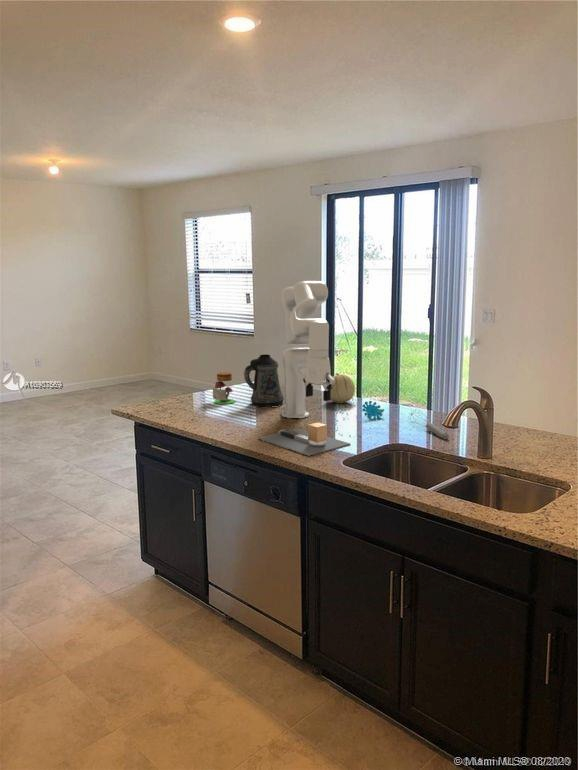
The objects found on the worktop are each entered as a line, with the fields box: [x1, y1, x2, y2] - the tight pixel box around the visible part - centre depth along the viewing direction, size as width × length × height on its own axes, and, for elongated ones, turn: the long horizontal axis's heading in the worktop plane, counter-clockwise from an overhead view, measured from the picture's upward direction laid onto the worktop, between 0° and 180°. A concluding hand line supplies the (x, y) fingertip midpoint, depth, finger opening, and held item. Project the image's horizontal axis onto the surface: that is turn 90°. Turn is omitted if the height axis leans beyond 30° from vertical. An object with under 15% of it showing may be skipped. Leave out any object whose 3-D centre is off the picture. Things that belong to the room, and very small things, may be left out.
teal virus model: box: [361, 400, 385, 421], centre depth 273 cm, size 11×6×10 cm
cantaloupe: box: [326, 373, 356, 404], centre depth 302 cm, size 15×15×15 cm
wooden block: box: [307, 422, 328, 443], centre depth 228 cm, size 5×5×6 cm
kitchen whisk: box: [407, 409, 450, 440], centre depth 251 cm, size 6×34×6 cm, turn 14°
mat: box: [257, 428, 351, 457], centre depth 235 cm, size 30×22×1 cm
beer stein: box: [243, 354, 285, 408], centre depth 297 cm, size 16×19×25 cm
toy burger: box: [211, 371, 236, 405], centre depth 305 cm, size 12×13×15 cm
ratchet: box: [278, 429, 326, 447], centre depth 235 cm, size 24×6×6 cm, turn 41°
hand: (318, 398), depth 227 cm, fingers open, 9 cm apart
